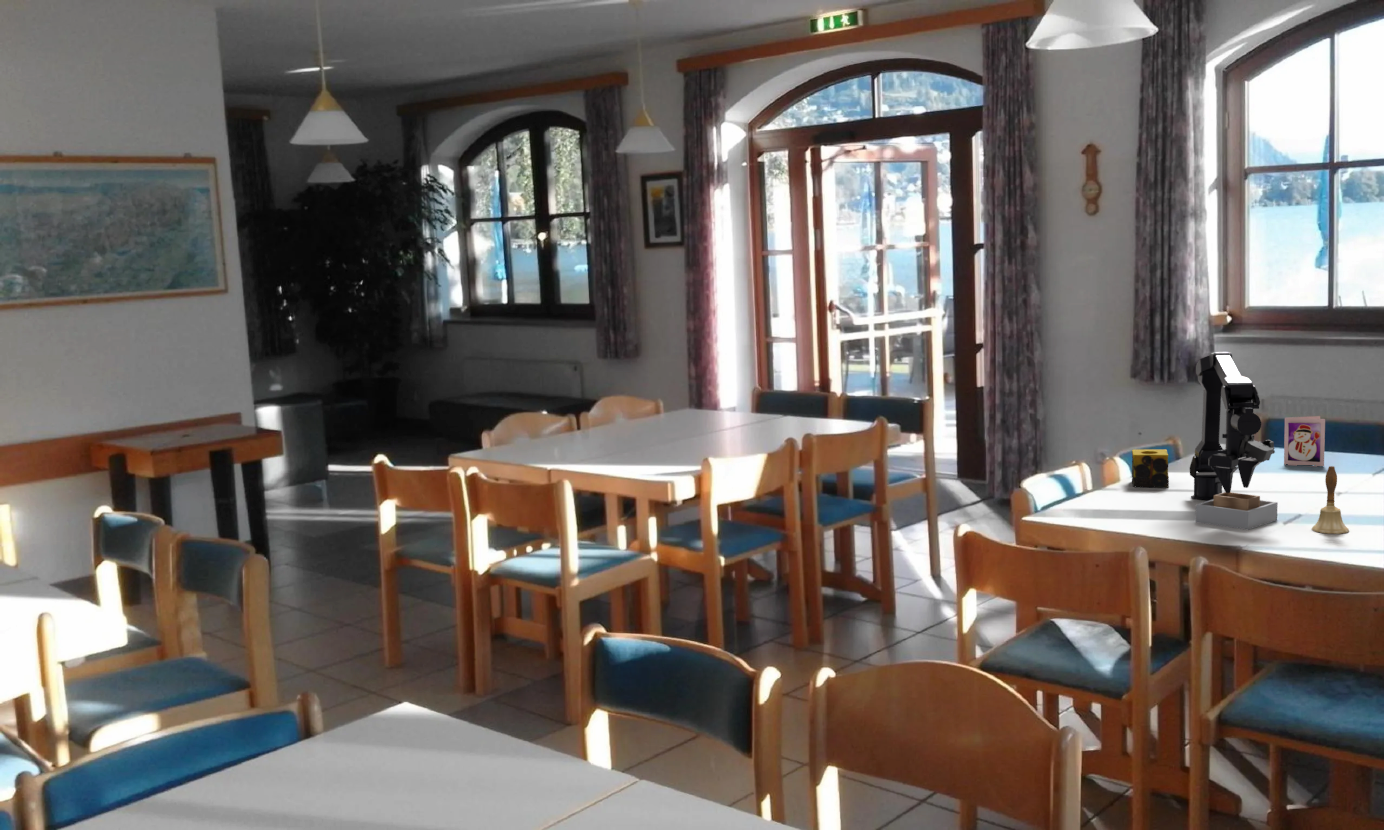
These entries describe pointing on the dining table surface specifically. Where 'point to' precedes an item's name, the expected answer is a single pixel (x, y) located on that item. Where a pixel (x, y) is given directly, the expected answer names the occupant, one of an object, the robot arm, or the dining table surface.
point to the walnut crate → (1236, 501)
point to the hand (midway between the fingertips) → (1236, 490)
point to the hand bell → (1330, 509)
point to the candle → (1150, 468)
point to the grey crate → (1236, 515)
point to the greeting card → (1304, 441)
